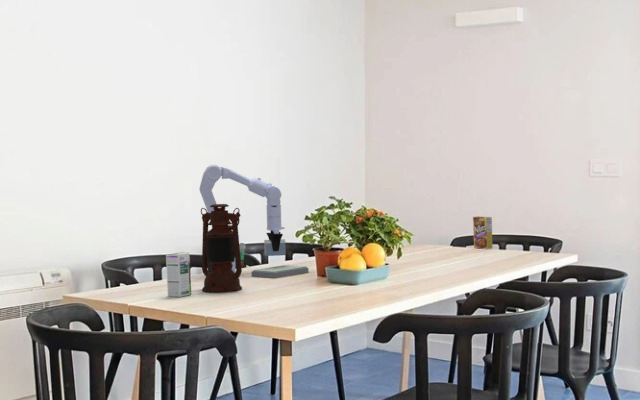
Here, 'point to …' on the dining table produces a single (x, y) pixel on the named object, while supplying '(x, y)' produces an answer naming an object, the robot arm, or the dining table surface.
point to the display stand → (280, 271)
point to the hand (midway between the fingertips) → (275, 250)
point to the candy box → (482, 232)
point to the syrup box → (178, 274)
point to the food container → (241, 254)
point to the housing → (269, 248)
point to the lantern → (221, 250)
